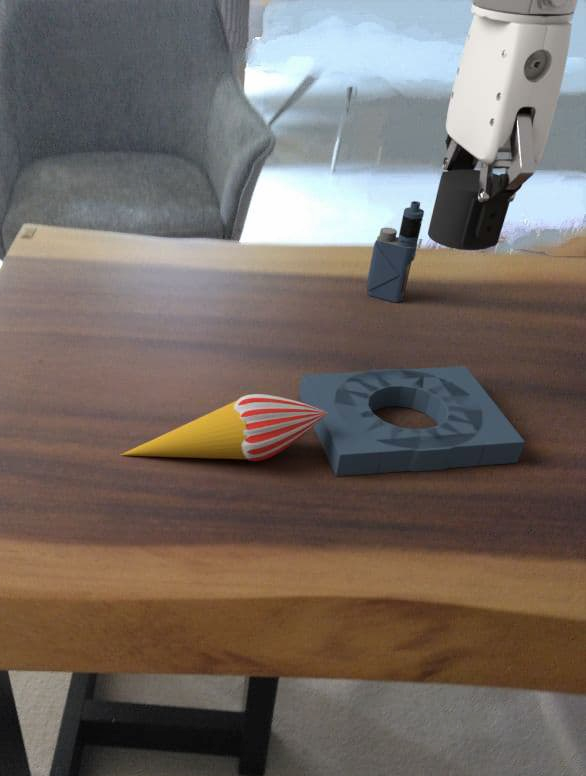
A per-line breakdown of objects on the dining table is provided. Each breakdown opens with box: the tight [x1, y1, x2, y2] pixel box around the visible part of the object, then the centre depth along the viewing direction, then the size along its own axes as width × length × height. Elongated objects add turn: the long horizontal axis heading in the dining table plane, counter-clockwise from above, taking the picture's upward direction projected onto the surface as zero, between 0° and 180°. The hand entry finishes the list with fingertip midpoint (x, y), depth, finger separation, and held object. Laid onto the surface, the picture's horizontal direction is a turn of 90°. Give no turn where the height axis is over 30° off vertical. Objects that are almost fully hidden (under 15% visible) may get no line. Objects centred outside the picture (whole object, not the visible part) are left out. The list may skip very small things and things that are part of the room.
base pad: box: [298, 365, 526, 477], centre depth 79 cm, size 18×14×2 cm
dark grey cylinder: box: [427, 169, 500, 251], centre depth 71 cm, size 6×6×5 cm
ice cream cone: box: [120, 393, 328, 462], centre depth 74 cm, size 6×6×20 cm
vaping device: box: [365, 200, 425, 303], centre depth 98 cm, size 3×5×12 cm, turn 58°
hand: (463, 228), depth 72 cm, fingers closed on dark grey cylinder, 6 cm apart
